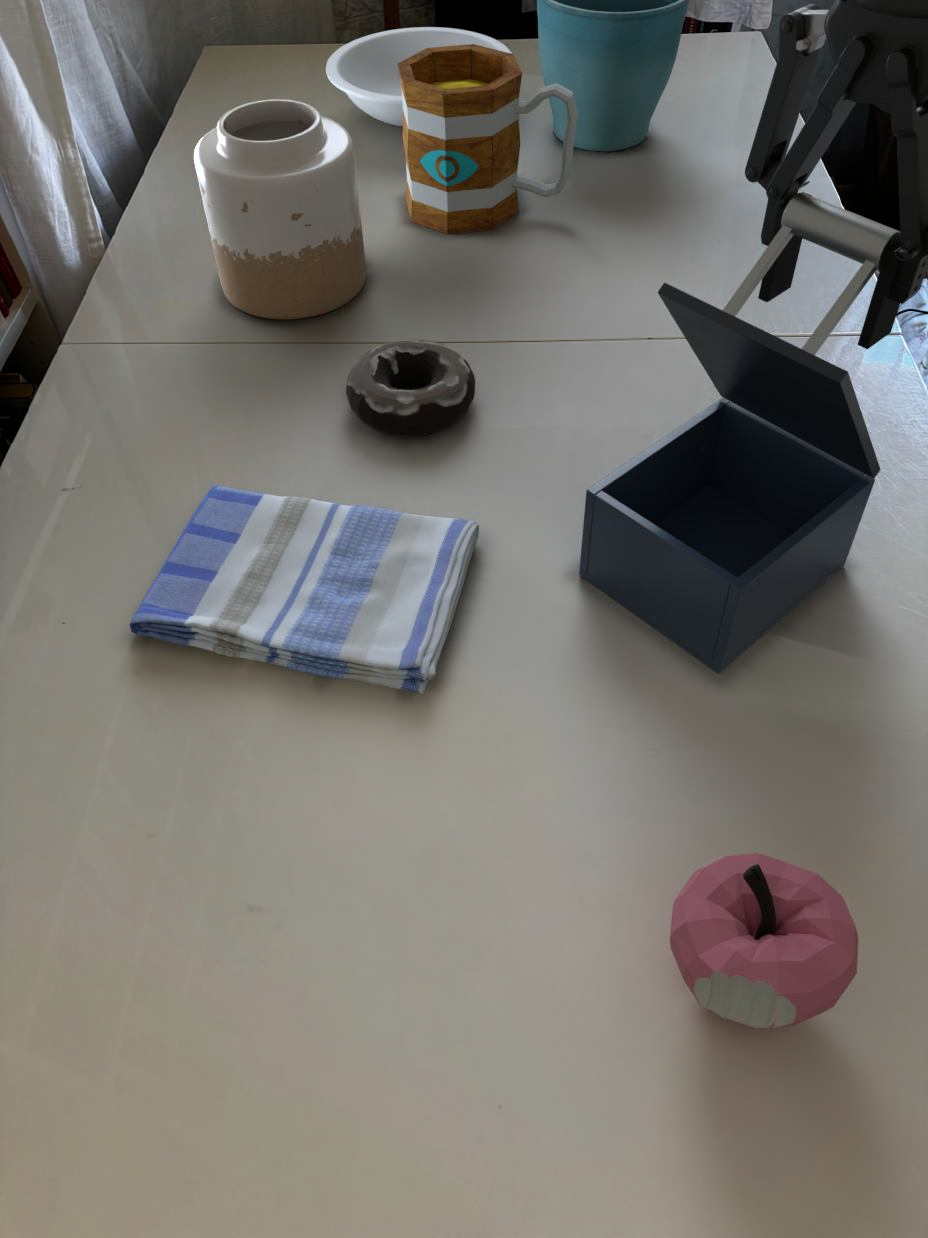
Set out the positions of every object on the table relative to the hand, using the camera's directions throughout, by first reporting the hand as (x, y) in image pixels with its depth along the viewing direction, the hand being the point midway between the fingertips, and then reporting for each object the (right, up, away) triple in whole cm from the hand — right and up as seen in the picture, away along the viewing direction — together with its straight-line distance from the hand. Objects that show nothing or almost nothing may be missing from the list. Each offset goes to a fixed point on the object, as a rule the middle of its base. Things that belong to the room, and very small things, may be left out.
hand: (822, 314), depth 69 cm
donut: (-29, -1, +27) cm, 39 cm away
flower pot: (-6, +41, +63) cm, 76 cm away
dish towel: (-35, -18, +11) cm, 41 cm away
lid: (-3, -5, +1) cm, 6 cm away
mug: (-21, +27, +51) cm, 61 cm away
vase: (-42, +15, +41) cm, 61 cm away
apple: (-8, -41, -10) cm, 43 cm away
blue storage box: (-5, -17, +12) cm, 21 cm away
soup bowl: (-29, +46, +68) cm, 87 cm away
